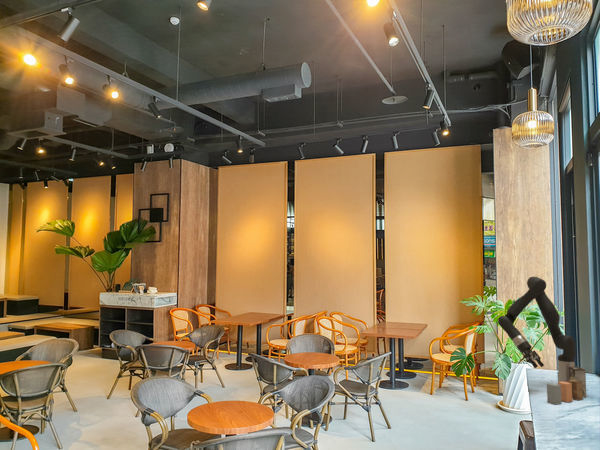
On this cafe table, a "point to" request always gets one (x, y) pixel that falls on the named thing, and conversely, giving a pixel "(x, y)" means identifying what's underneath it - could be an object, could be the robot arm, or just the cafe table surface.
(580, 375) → the coffee box
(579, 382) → the walnut block
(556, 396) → the slate block
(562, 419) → the cafe table surface
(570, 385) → the terracotta block
